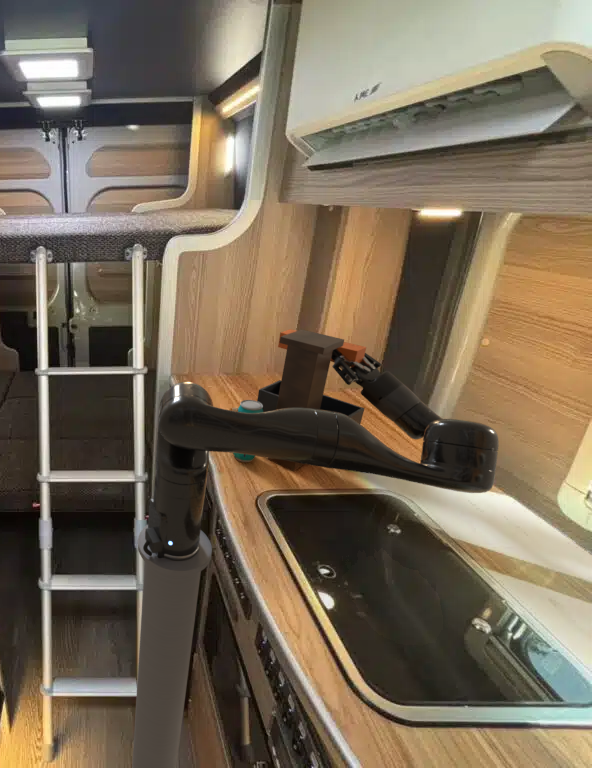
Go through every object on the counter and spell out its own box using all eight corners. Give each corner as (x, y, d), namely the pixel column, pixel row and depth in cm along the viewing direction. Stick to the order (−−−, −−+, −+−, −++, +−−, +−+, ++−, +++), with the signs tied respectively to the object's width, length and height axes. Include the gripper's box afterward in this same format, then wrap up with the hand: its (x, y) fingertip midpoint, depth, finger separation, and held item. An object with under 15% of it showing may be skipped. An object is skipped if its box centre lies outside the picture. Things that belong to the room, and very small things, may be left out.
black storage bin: (353, 451, 120) (364, 408, 115) (333, 465, 114) (345, 420, 109) (272, 419, 137) (279, 380, 132) (252, 430, 131) (258, 389, 126)
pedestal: (316, 462, 116) (344, 339, 103) (297, 475, 111) (324, 347, 98) (279, 446, 123) (301, 329, 110) (259, 457, 118) (280, 336, 105)
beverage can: (232, 462, 116) (239, 408, 110) (231, 450, 121) (238, 398, 115) (256, 465, 115) (265, 410, 109) (254, 452, 120) (262, 400, 114)
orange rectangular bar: (362, 363, 110) (366, 347, 108) (353, 367, 108) (357, 351, 106) (287, 343, 124) (289, 329, 122) (277, 347, 121) (280, 332, 120)
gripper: (416, 378, 106) (356, 327, 114) (389, 394, 98) (327, 339, 106) (390, 398, 112) (335, 349, 119) (363, 415, 104) (306, 361, 111)
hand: (332, 344), depth 112 cm, fingers closed on orange rectangular bar, 4 cm apart
